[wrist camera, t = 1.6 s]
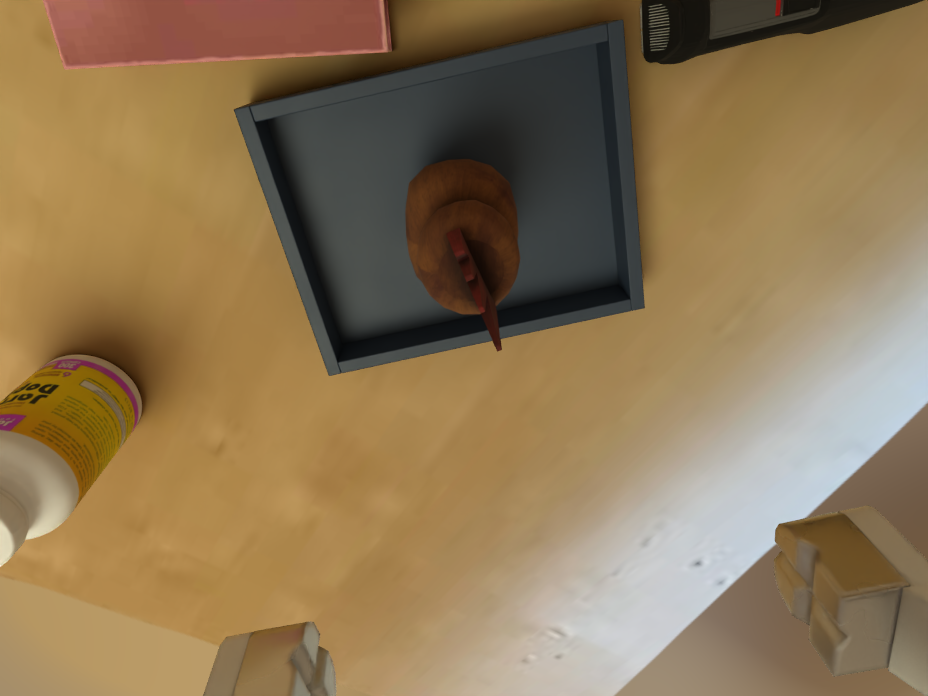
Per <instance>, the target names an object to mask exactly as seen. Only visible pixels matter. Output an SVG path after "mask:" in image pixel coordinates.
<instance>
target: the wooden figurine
mask: <svg viewBox="0 0 928 696" xmlns="http://www.w3.org/2000/svg"><path fill="white" fill-rule="evenodd" d="M405 218H406V237H407V245H408V252H409V257H410V260H411V262H412V265H413V268H414V271H415V274H416V276H417V278H418V279H420V280H421V281H422V283H423V285H424V286H425V288H426V290H427V292H428V293H429V295H430V296H431V297H432V298H433V299H434V300H436V301H437V302H438V303H439V304H440V305H441V306H443V307H444V308H446V309H449V310H452V311H455V312H457V313H460V314H481V315H482V317H483V320H484V322H485V324H486V327H487V329H488V331H489V333H490V336H491V338H492V340H493V343H494V345H495V347H496V349H497V351H500V350H502V347H501V340H500V332H499V325H498V318H497V311H496V306H497V305H498V304H499V303H500V302H501V301H502V300H503V299H504V298H505V297H506V296H507V295H508V294H509V292H510V290H511V288H512V286H513V284H514V282H515V280H516V278H517V274H518V269H519V263H520V253H519V247H518V242H517V241H518V218H517V209H516V204H515V201H514V197H513V193H512V190H511V186H510V183H509V182H508V181H507V180H506V179H505V178H504V177H503V176H502V175H501V174H500V173H499V172H498V171H496V170H495V169H494V168H493V167H492V166H491V165H488V164H484V163H481V162H478V161H474V160H471V159H457V160H445V161H442V162H438V163H435V164H431V165H427V166H425V167H424V168H423V169H422V170H421V171H420V172H419V173H418V174H417V175H416V176H415V177H414V178H413V179H412V180H411V181H410V182H409V187H408V194H407V201H406V209H405Z"/></svg>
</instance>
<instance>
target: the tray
mask: <svg viewBox="0 0 928 696" xmlns="http://www.w3.org/2000/svg"><path fill="white" fill-rule="evenodd" d="M234 112H235V114H236V117H237V120H238V123H239V126H240V128H241V131H242V134H243V137H244V140H245V142H246V145H247V148H248V151H249V154H250V156H251V159H252V162H253V165H254V168H255V170H256V173H257V176H258V179H259V181H260V184H261V187H262V190H263V193H264V195H265V198H266V201H267V204H268V207H269V209H270V212H271V215H272V218H273V221H274V223H275V226H276V229H277V232H278V235H279V237H280V240H281V243H282V246H283V249H284V251H285V254H286V257H287V260H288V263H289V265H290V268H291V271H292V274H293V277H294V279H295V282H296V285H297V288H298V291H299V293H300V296H301V299H302V302H303V305H304V307H305V310H306V313H307V316H308V319H309V321H310V324H311V327H312V330H313V333H314V335H315V338H316V341H317V344H318V347H319V349H320V352H321V355H322V358H323V361H324V363H325V366H326V369H327V372H328V375H329V376H331V375H336V374H340V373H341V372H342V373H345V372H350V371H354V370H359V369H364V368H368V367H373V366H377V365H382V364H387V363H391V362H396V361H401V360H405V359H410V358H415V357H419V356H424V355H428V354H433V353H438V352H442V351H447V350H452V349H456V348H461V347H466V346H470V345H475V344H479V343H484V342H489V341H493V340H492V338H491V336H490V333H489V331H488V329H487V327H486V324H485V322H484V320H483V317H482V315H481V314H460V313H457V312H455V311H452V310H449V309H446V308H444V307H443V306H441V305H440V304H439V303H438V302H437V301H436V300H434V299H433V298H432V297H431V296H430V295H429V293H428V292H427V290H426V288H425V286H424V285H423V283H422V281H421V280H420V279H418V278H417V276H416V274H415V271H414V268H413V265H412V262H411V260H410V257H409V252H408V245H407V237H406V218H405V209H406V201H407V194H408V187H409V182H410V181H411V180H412V179H413V178H414V177H415V176H416V175H417V174H418V173H419V172H420V171H421V170H422V169H423V168H424V167H425V166H427V165H431V164H435V163H438V162H442V161H445V160H457V159H471V160H474V161H478V162H481V163H484V164H488V165H491V166H492V167H493V168H494V169H495V170H496V171H498V172H499V173H500V174H501V175H502V176H503V177H504V178H505V179H506V180H507V181H508V182H509V183H510V186H511V190H512V193H513V197H514V201H515V204H516V209H517V218H518V241H517V242H518V247H519V253H520V263H519V269H518V274H517V278H516V280H515V282H514V284H513V286H512V288H511V290H510V292H509V294H508V295H507V296H506V297H505V298H504V299H503V300H502V301H501V302H500V303H499V304H498V305H497V306H496V311H497V318H498V325H499V332H500V339H503V338H507V337H512V336H517V335H521V334H526V333H530V332H535V331H540V330H544V329H549V328H554V327H558V326H563V325H568V324H572V323H577V322H582V321H586V320H591V319H595V318H600V317H605V316H609V315H614V314H619V313H623V312H628V311H631V310H632V311H633V310H638V309H642V308H645V306H644V293H643V279H642V266H641V252H640V239H639V225H638V212H637V198H636V185H635V171H634V158H633V144H632V131H631V117H630V104H629V90H628V77H627V63H626V50H625V36H624V23H623V20H613V21H605V22H601V23H597V24H592V25H588V26H584V27H579V28H575V29H571V30H566V31H562V32H558V33H553V34H549V35H545V36H540V37H536V38H532V39H527V40H523V41H519V42H514V43H510V44H506V45H501V46H497V47H493V48H488V49H484V50H480V51H475V52H471V53H467V54H463V55H458V56H454V57H450V58H445V59H441V60H437V61H432V62H428V63H424V64H419V65H415V66H411V67H406V68H402V69H398V70H393V71H389V72H385V73H380V74H376V75H372V76H367V77H363V78H359V79H354V80H350V81H346V82H341V83H337V84H333V85H328V86H324V87H320V88H315V89H311V90H307V91H303V92H298V93H294V94H290V95H285V96H281V97H277V98H272V99H268V100H264V101H259V102H255V103H251V104H247V105H245V106H242V107H239V108H236V109H234Z"/></svg>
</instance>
